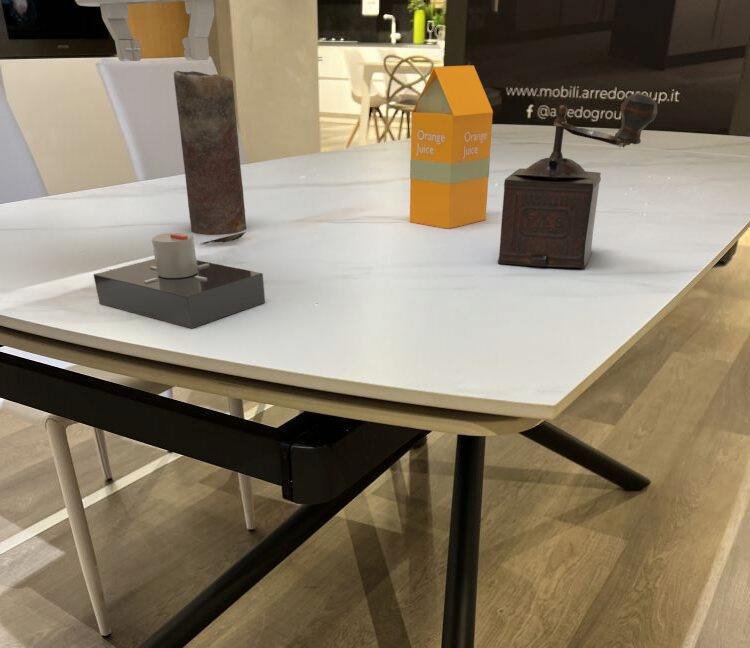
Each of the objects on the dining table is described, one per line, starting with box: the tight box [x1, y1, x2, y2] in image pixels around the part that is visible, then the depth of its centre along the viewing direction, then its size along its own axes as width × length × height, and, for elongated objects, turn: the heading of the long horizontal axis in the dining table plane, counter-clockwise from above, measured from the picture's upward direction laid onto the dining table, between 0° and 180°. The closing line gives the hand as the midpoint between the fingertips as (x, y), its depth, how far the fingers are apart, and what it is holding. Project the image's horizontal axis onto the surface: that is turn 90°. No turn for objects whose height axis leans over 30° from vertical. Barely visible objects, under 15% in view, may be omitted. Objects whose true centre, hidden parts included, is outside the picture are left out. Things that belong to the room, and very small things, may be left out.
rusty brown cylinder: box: [173, 70, 247, 245], centre depth 96 cm, size 8×7×20 cm
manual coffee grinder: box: [497, 92, 659, 269], centre depth 86 cm, size 16×11×18 cm
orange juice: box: [409, 64, 494, 230], centre depth 106 cm, size 8×9×20 cm
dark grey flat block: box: [93, 258, 266, 329], centre depth 75 cm, size 14×10×3 cm
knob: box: [151, 232, 198, 278], centre depth 74 cm, size 4×4×4 cm
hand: (162, 60), depth 70 cm, fingers open, 8 cm apart
